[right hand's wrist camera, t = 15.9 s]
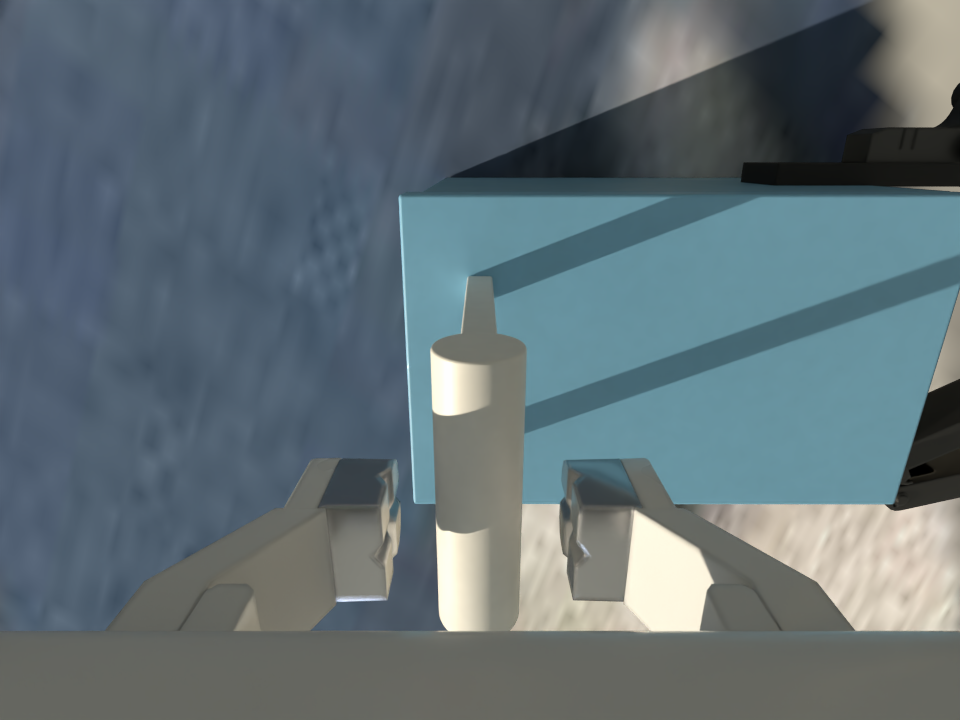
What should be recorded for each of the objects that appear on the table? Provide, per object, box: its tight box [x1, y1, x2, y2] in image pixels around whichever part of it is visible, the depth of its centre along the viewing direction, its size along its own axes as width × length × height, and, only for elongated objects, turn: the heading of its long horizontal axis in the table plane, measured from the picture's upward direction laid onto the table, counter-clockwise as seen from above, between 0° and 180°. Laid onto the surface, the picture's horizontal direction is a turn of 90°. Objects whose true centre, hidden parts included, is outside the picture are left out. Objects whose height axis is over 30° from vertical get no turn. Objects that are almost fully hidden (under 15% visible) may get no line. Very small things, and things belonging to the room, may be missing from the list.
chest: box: [424, 178, 950, 192], centre depth 23 cm, size 15×10×11 cm, turn 90°
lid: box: [399, 192, 960, 631], centre depth 13 cm, size 16×10×9 cm, turn 90°
